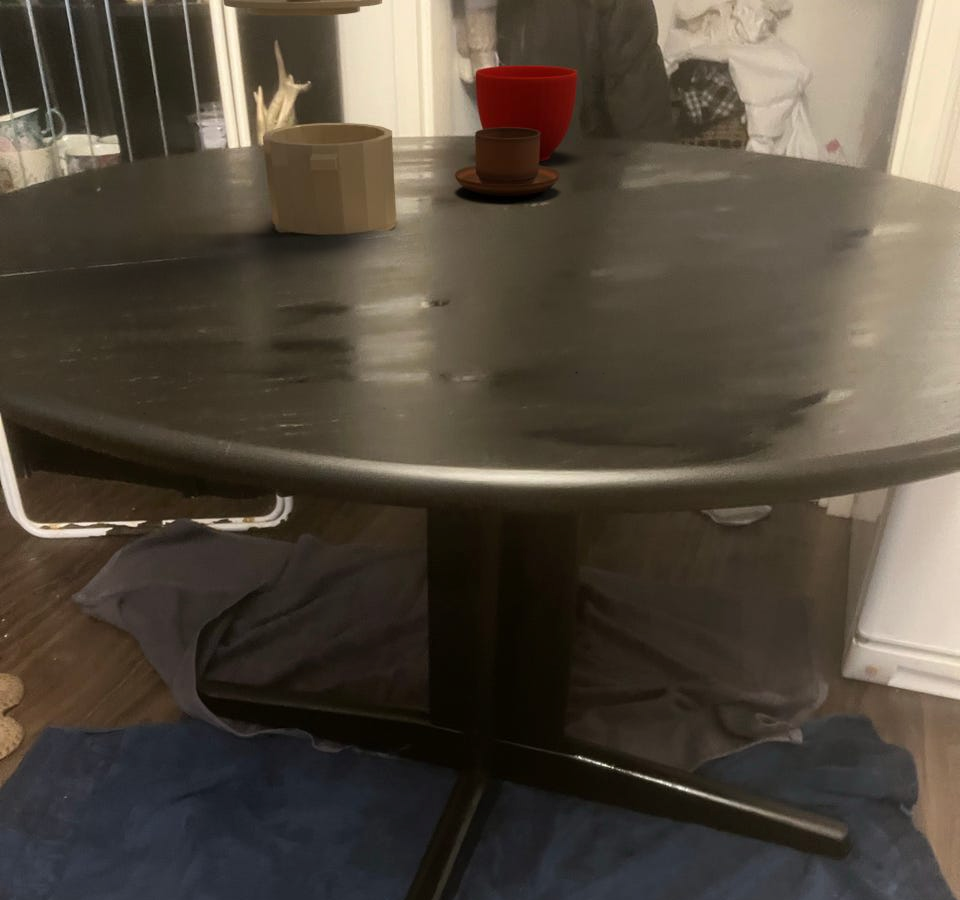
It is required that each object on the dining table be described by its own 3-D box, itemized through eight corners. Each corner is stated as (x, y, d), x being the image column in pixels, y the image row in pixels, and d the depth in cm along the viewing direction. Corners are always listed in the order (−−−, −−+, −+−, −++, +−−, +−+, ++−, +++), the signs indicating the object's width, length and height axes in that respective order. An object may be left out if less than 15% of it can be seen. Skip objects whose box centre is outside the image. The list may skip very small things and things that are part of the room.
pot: (264, 248, 94) (252, 151, 89) (283, 205, 108) (273, 119, 103) (395, 246, 94) (390, 149, 89) (397, 203, 109) (393, 118, 104)
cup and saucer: (450, 182, 118) (448, 125, 114) (547, 179, 119) (549, 122, 115) (461, 205, 108) (461, 143, 104) (568, 201, 109) (571, 140, 106)
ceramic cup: (563, 143, 138) (567, 61, 132) (579, 166, 125) (584, 77, 119) (472, 144, 138) (471, 62, 132) (478, 168, 124) (478, 78, 118)
